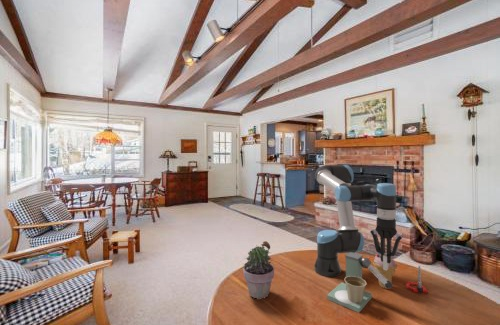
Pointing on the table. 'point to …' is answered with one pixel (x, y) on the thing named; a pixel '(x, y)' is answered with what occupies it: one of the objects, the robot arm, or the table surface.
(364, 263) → the lever
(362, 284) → the flower pot
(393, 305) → the table surface
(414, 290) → the tow hook
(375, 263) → the ice cream cone
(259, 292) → the potted plant
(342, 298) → the press
